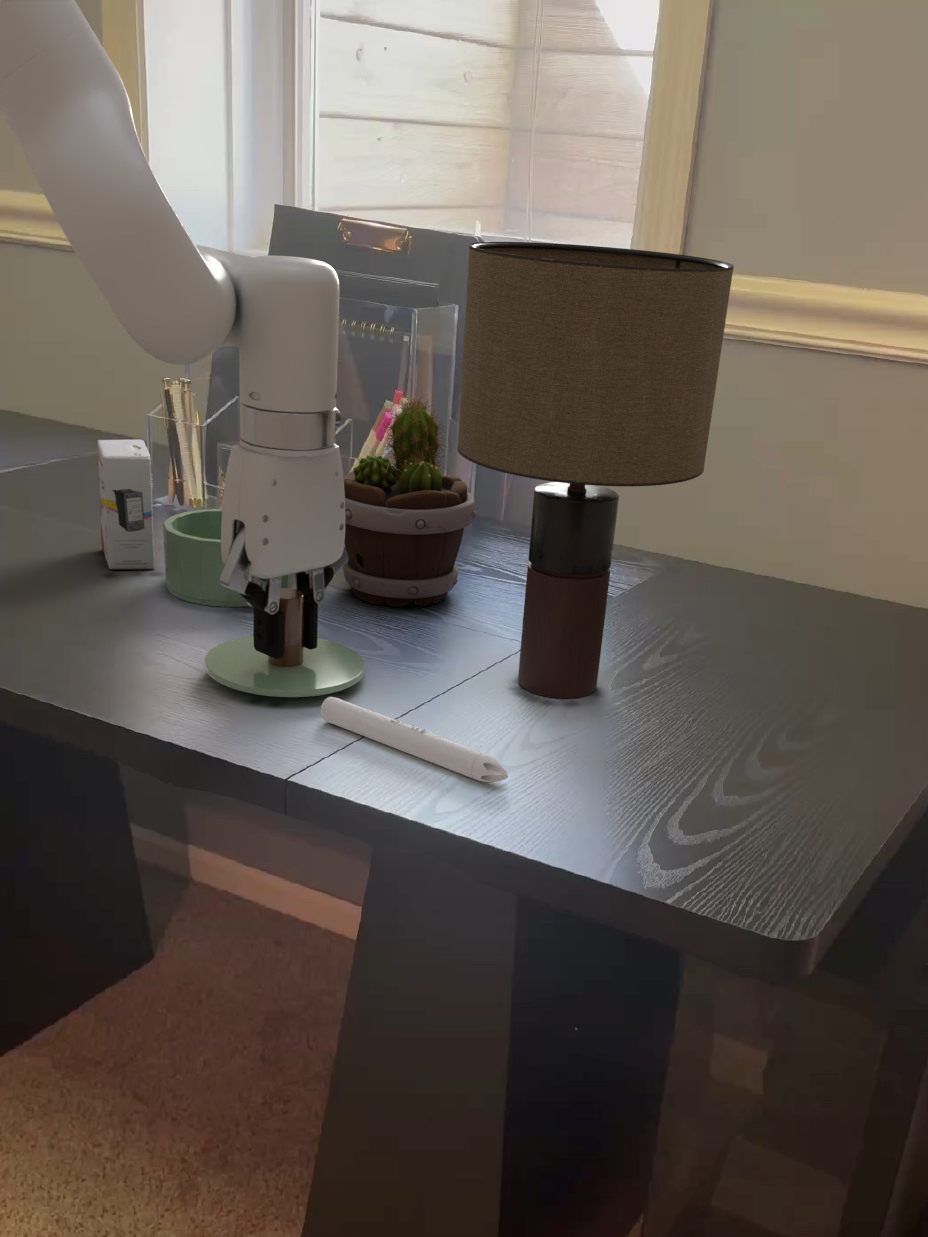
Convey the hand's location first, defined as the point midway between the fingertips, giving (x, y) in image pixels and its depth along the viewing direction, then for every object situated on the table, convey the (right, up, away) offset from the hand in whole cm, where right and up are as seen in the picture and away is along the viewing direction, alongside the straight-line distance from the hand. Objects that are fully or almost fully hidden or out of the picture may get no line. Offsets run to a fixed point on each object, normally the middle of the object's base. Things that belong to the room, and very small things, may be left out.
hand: (285, 647), depth 111 cm
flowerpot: (+8, +9, +25) cm, 28 cm away
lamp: (+24, -3, +5) cm, 24 cm away
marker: (+12, -10, -11) cm, 19 cm away
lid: (0, -2, +1) cm, 2 cm away
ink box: (-21, +14, +29) cm, 38 cm away
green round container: (-9, +10, +22) cm, 26 cm away
